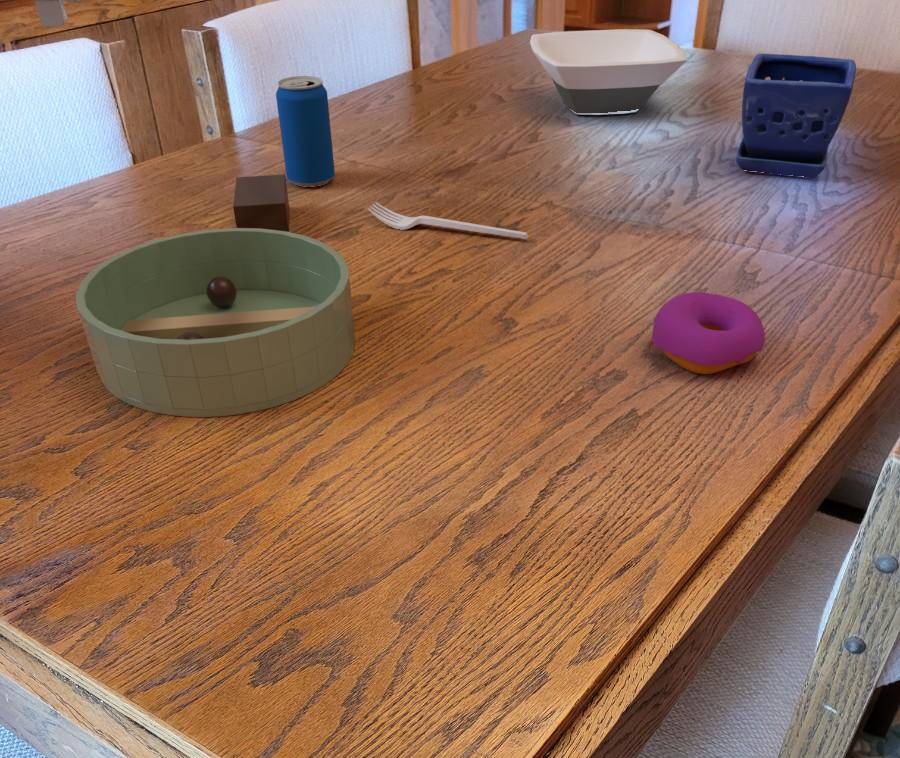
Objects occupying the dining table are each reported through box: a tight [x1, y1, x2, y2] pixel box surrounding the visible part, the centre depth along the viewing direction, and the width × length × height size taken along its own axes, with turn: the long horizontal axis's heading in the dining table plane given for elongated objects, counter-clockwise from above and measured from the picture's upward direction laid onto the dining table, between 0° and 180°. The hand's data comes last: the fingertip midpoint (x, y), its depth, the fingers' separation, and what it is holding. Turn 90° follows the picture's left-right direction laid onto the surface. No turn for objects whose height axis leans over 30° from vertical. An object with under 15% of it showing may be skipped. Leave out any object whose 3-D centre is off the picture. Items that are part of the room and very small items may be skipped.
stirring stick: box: [124, 307, 315, 339], centre depth 86 cm, size 18×2×2 cm, turn 98°
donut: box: [651, 291, 766, 375], centre depth 84 cm, size 10×10×5 cm
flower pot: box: [735, 53, 857, 178], centre depth 119 cm, size 13×13×12 cm
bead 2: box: [206, 277, 237, 308], centre depth 92 cm, size 3×3×3 cm
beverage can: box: [275, 75, 336, 187], centre depth 117 cm, size 6×6×12 cm
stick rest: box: [232, 173, 291, 232], centre depth 110 cm, size 6×10×4 cm, turn 8°
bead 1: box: [177, 332, 204, 340], centre depth 83 cm, size 3×3×3 cm
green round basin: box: [75, 227, 356, 418], centre depth 85 cm, size 25×25×7 cm
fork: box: [367, 201, 529, 240], centre depth 108 cm, size 3×20×2 cm, turn 69°
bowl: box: [529, 28, 688, 113], centre depth 142 cm, size 22×23×8 cm
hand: (66, 12), depth 74 cm, fingers open, 8 cm apart
